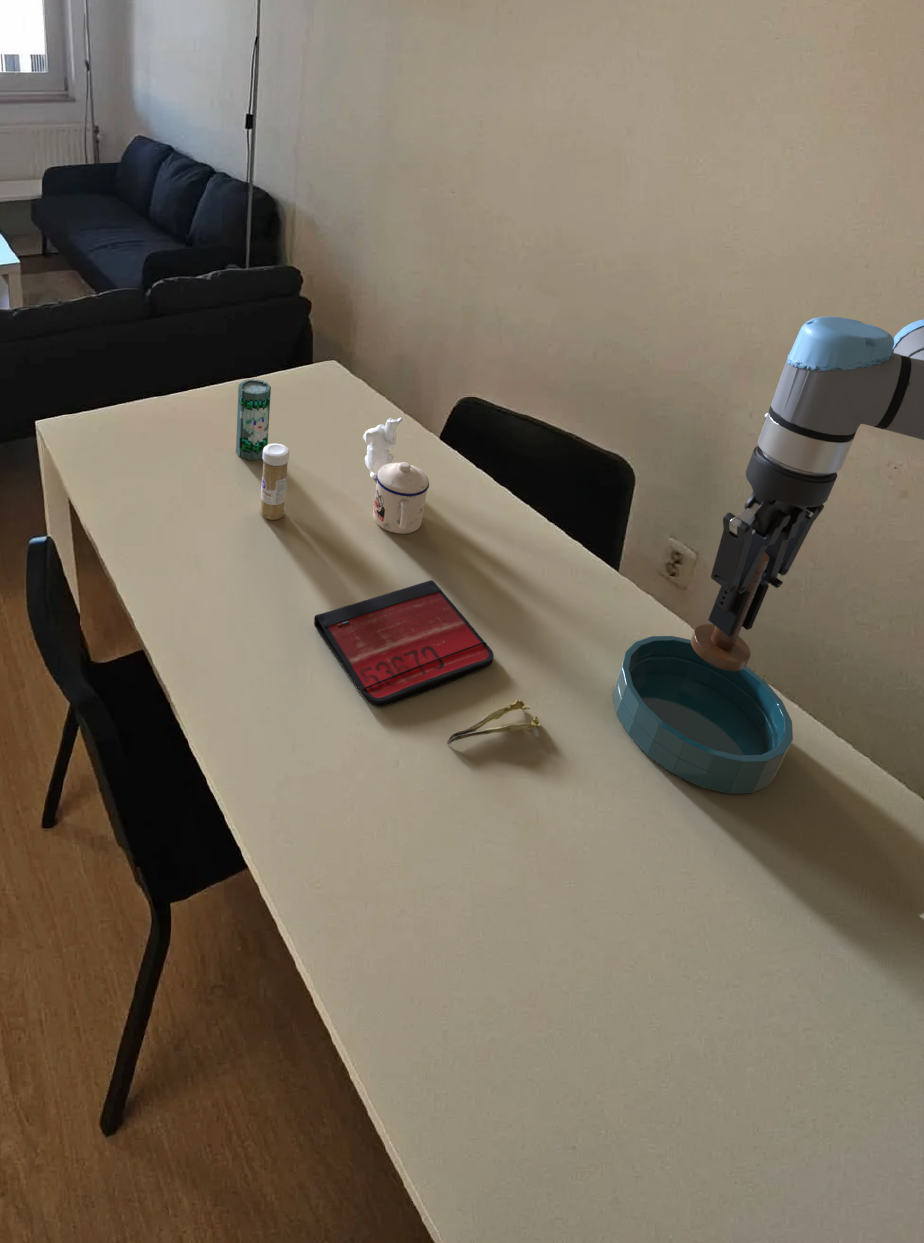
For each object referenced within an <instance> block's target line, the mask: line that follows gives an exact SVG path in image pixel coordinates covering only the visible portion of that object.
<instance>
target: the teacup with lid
mask: <svg viewBox="0 0 924 1243" xmlns="http://www.w3.org/2000/svg"><path fill="white" fill-rule="evenodd" d="M375 479H376V487H375V495H374V503H373V509H372V510H373V511H372V517H373V520H374V522H375V523H376V524H377V525H378V526H379V527H380V528H382V529H383V530H385V531H387V532H390V533H394V534H401V535H403V534H404V535H405V534H410V533H413V532H415V531H417V530H418V529H419V528H421V526H422V522H423V516H424V511H425V504H426V498H427V491H428V489H429V488H430V480H429V477H428V476H427V474H426V473H425V472H424V471H423V470H422V469H420V468H419V467H417V466H415V465H412V464H410V463H408V462H407V461H400V462H392V463H390V464H387V465H384V466H383V467H381V468H380V469H379V471H378V473H377V476H376V478H375Z"/></svg>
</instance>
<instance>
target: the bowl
mask: <svg viewBox="0 0 924 1243" xmlns="http://www.w3.org/2000/svg"><path fill="white" fill-rule="evenodd" d="M612 691H613V692H612V701H613V705H614V706H613V707H614V709H615V715H616V717H617V719H618V720H619V722H620V724H621V725H622V728H623V729H624V731H625V733H626V734H627V736H628V737H629V738H630V739H631V740H632V741H633V742H634V743H635V744H636V745H637V746H638V747H639V749H641V751H643V752H644V753H645V754H646V755H647V756H648V757H649V758H650V759H652V760H653V761H654V762H655V763H657V764H658V765H659V766H660V767H662V768H664V770H666V771H668V772H669V773H671V774H673V775H675V776H676V777H679V778H681V779H682V780H684V781H686V782H689V783H691V784H693V785H696V786H698V787H700V788H704V789H708V790H712V791H716V792H721V793H724V794H752V793H755V792H758V791H759V790H762V789H764V788H766V787H768V786H770V785H771V784H772V782H773V780H774V778H775V777H776V775H777V773H778V772H779V770H780V767H781V765H782V763H783V761H784V760H785V758H786V755H787V753H788V751H789V748H790V747H791V745H792V742H793V740H794V737H793V736H794V733H793V732H794V731H793V720H792V718H791V716H790V713H789V712H788V711H787V708H786V705H785V704H784V702H783V700H782V698H780V696H778V694H777V693H776V692H775V691H774V690H773V688H772V687H771V686H770V685H769V684H768V682H767V681H766V680H764V678H762V677H760V675H758V674H757V673H756V672H755V671H753V670H752V669H751V668H750V667H748V665H746V667H745V668H744V669H742V670H739V671H727V670H723V669H720V668H717V667H715V666H713V665H711V664H709V663H708V662H706V661H705V660H703V659H702V658H701V657H700V656H699V655H698V654H697V653H696V652H695V651H694V649H693V647H692V645H691V638H690V639H688V638H684V637H679V636H674V635H651V636H648V637H646V638H642V639H640V640H636V641H635V642H633V644H631V646H630V647H629V648H628V649H627V650H625V652H624V655H623V658H622V661H621V663H620V667H619V670H618V673H617V675H616V679H615V683H614V688H613V690H612Z"/></svg>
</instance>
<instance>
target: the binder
mask: <svg viewBox="0 0 924 1243" xmlns="http://www.w3.org/2000/svg"><path fill="white" fill-rule="evenodd" d="M313 624H314V626H313V627H315V629H316V630H317V632H318V633H319V635H320V636H321V637H322V639H323V640H324V642H325V644H327V645H328V647H329V649H330V650H331V652H332V653H333V655H334V656H335V657H336V659H337V660H338V661H339V663H340V664H341V666H342V667H343V669H344V670H345V672H346V673H347V674H348V676H349V677H350V679H351V680H352V681H353V683H354V684H355V685H356V687H357V688H358V690H359V691H360V693H361V694H362V695H363V696H364V698H365V699H366V701H367V702H369V703H370V704H372V706H373V705H374V706H376V707H387V706H390V705H393V704H396V703H398V702H401V701H404V700H408V699H410V698H413V697H416V696H418V695H421V694H423V693H427V692H429V691H431V690H435V689H438V688H440V687H442V686H445V685H448V684H451V683H452V682H455V681H458V680H461V679H462V678H464V677H467V676H470V675H472V674H474V673H477V672H479V671H482V670H484V669H485V668H488V667H490V666H491V665H492V663H493V662H494V652H493V650H492V649H491V647H490V646H489V645H488V644H487V641H485V640H484V639H483V637H481V634H479V633H478V632H477V630H476V629H475V628H474V627H473V626H472V625H471V623H470V622H469V620H467V619H466V617H465V616H464V615H463V614H462V613H461V612H460V610H459V609H458V608H457V606H455V604H454V603H453V602H452V601H451V600H450V599H449V597H448V596H447V595H446V594H445V593H444V592H443V590H442V589H441V588H440V587H439V586H438V585H437V583H436V582H435V581H434V580H433V579H431V580H430V579H429V580H427V581H424V582H420V583H417V584H414V585H411V586H408V587H405V588H401V589H397V590H394V591H391V592H388V593H385V594H381V595H378V596H375V597H372V598H368V599H364V600H362V601H358V602H355V603H352V604H348V605H344V606H342V607H338V608H335V609H332V610H329V611H325V612H323V613H318V614H316V615H314V617H313Z"/></svg>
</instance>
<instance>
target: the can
mask: <svg viewBox="0 0 924 1243" xmlns="http://www.w3.org/2000/svg"><path fill="white" fill-rule="evenodd" d="M271 393H272V386H271V385H270V384H269V383H268V382H267V381H264V380H261V379H254V378H253V379H246V380H243V381H241V382H240V383H239V384H238V389H237V411H236V413H237V414H236V438H235V439H236V440H235V441H236V442H235V453H236V454H237V455H238V457H239V458H241V459H244V460H247V461H258V460H263V449H264V447H265V446H267V445H269V430H270V429H269V428H270V410H271V409H270V408H271V395H272V394H271Z"/></svg>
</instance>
